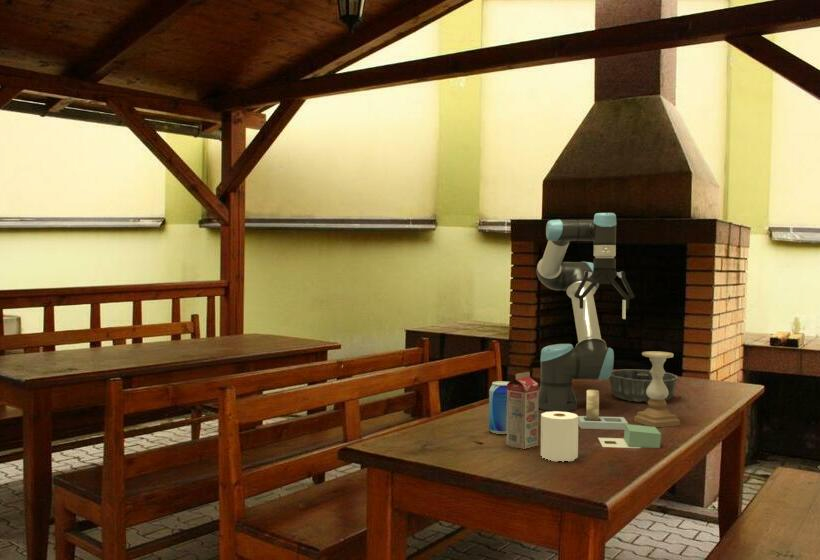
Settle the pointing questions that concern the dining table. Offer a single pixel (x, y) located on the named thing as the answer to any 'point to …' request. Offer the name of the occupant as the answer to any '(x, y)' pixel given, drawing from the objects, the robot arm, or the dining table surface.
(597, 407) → the peg
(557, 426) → the toilet paper
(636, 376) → the bundt pan
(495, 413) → the beer can
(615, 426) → the grey double window frame
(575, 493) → the dining table surface
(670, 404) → the dining table surface
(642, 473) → the dining table surface
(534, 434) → the juice carton
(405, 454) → the dining table surface
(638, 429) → the cover
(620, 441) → the mat
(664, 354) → the candle holder
